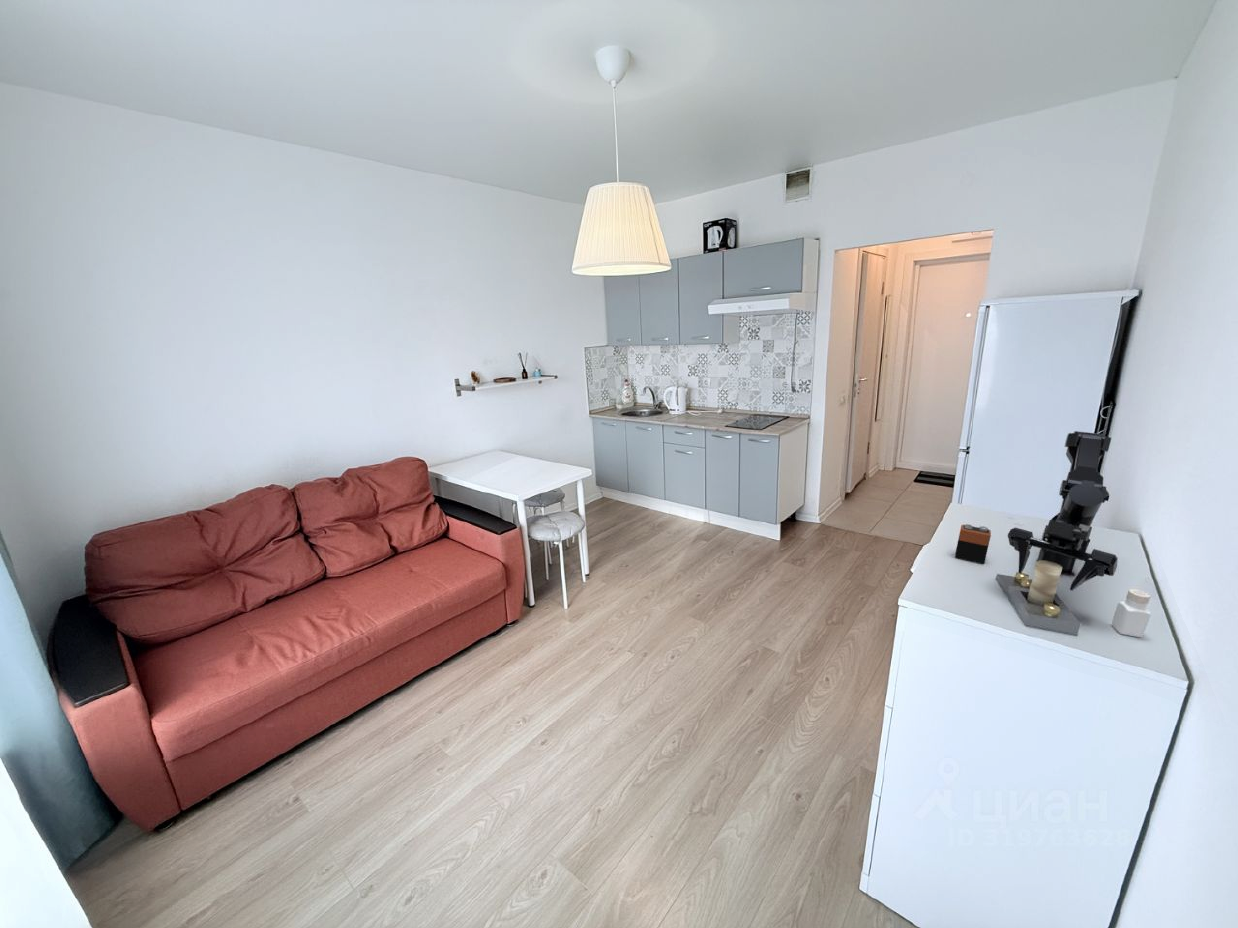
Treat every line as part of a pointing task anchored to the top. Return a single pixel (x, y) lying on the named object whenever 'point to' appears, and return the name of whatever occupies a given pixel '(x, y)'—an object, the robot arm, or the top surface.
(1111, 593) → the top surface
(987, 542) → the battery
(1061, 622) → the mounting plate
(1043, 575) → the pin
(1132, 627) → the salt shaker
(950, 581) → the top surface
